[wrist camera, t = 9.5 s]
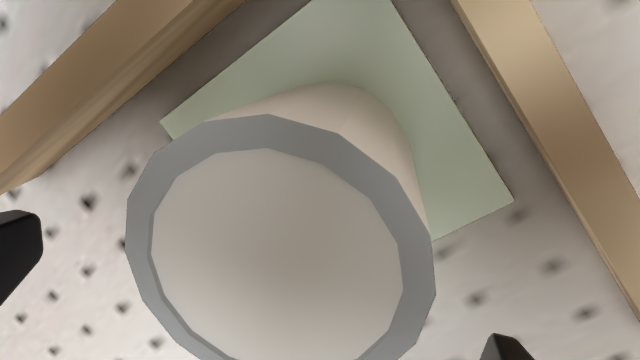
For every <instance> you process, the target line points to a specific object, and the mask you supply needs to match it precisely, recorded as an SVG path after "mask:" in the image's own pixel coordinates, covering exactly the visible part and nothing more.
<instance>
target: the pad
mask: <svg viewBox="0 0 640 360" xmlns="http://www.w3.org/2000/svg"><path fill="white" fill-rule="evenodd" d="M327 81H335V82H338V83H342V84H346V85H349V86H353V87H357V88H361V89H364V90H366V91H367V92H368V93H370V94H371V95H372V96H374V97H375V98H376V99H378V100H379V101H380V102H381V103H383V104H384V105H385V106H387V107H388V108H389V109H391V110H392V112H393V114H394V115H395V117H396V119H397V121H398V122H399V124H400V126H401V128H402V129H403V131H404V133H405V135H406V136H407V138H408V141H409V146H410V150H411V154H412V159H413V163H414V167H415V171H416V176H417V180H418V184H419V189H420V193H421V197H422V201H423V206H424V210H425V214H426V218H427V223H428V227H429V231H430V236H431V242H433V241H435V240H437V239H439V238H441V237H443V236H445V235H447V234H449V233H451V232H453V231H455V230H457V229H459V228H461V227H464V226H466V225H468V224H470V223H472V222H474V221H476V220H478V219H480V218H482V217H484V216H486V215H488V214H490V213H492V212H494V211H496V210H499V209H501V208H503V207H505V206H507V205H509V204H511V203H513V202H515V200H514V198H513V196H512V194H511V193H510V191H509V190H508V188H507V186H506V185H505V183H504V182H503V180H502V178H501V177H500V175H499V173H498V172H497V170H496V169H495V167H494V165H493V164H492V162H491V161H490V159H489V157H488V156H487V154H486V153H485V151H484V149H483V148H482V146H481V145H480V143H479V141H478V140H477V138H476V136H475V135H474V133H473V132H472V130H471V128H470V127H469V125H468V124H467V122H466V120H465V119H464V117H463V116H462V114H461V112H460V111H459V109H458V108H457V106H456V104H455V103H454V101H453V99H452V98H451V96H450V95H449V93H448V91H447V90H446V88H445V87H444V85H443V83H442V82H441V80H440V79H439V77H438V75H437V74H436V72H435V70H434V69H433V67H432V66H431V64H430V62H429V61H428V59H427V58H426V56H425V54H424V53H423V51H422V50H421V48H420V46H419V45H418V43H417V42H416V40H415V38H414V37H413V35H412V33H411V32H410V30H409V29H408V27H407V25H406V24H405V22H404V21H403V19H402V17H401V16H400V14H399V13H398V11H397V9H396V8H395V6H394V5H393V3H392V1H391V0H312V1H311V2H309V3H308V4H307V5H305V6H304V7H303V8H302V9H300V10H299V11H298V12H297V13H295V14H294V15H293V16H292V17H290V18H289V19H288V20H287V21H285V22H284V23H283V24H281V25H280V26H279V27H278V28H276V29H275V30H274V31H273V32H271V33H270V34H269V35H268V36H266V37H265V38H264V39H263V40H261V41H260V42H259V43H257V44H256V45H255V46H254V47H252V48H251V49H250V50H249V51H247V52H246V53H245V54H244V55H242V56H241V57H240V58H239V59H237V60H236V61H235V62H233V63H232V64H231V65H230V66H228V67H227V68H226V69H225V70H223V71H222V72H221V73H220V74H218V75H217V76H216V77H214V78H213V79H212V80H211V81H209V82H208V83H207V84H206V85H204V86H203V87H202V88H201V89H199V90H198V91H197V92H196V93H194V94H193V95H192V96H190V97H189V98H188V99H187V100H185V101H184V102H183V103H182V104H180V105H179V106H178V107H177V108H175V109H174V110H173V111H172V112H170V113H169V114H168V115H166V116H165V117H164V118H163V119H161V120H160V121H159V123H160V124H161V125H162V126H163V128H164V129H165V130H166V131H167V133H168V134H169V135H170V137H171V138H172V139H173V140H175V139H177V138H178V137H180V136H181V135H183V134H184V133H186V132H188V131H189V130H191V129H192V128H194V127H195V126H197V125H199V124H200V123H202V122H204V121H206V120H209V119H212V118H214V117H217V116H219V115H222V114H225V113H227V112H230V111H233V110H235V109H238V108H241V107H243V106H246V105H249V104H251V103H254V102H257V101H259V100H262V99H265V98H267V97H270V96H273V95H275V94H278V93H280V92H283V91H286V90H288V89H291V88H294V87H296V86H299V85H305V84H312V83H320V82H327Z"/></svg>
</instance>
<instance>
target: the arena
mask: <svg viewBox="0 0 640 360" xmlns="http://www.w3.org/2000/svg"><path fill="white" fill-rule="evenodd" d="M245 1H246V0H116V1H115V2H114V3H113V4H112V5H111V6H110V7H109V8H108V9H107V10H106V11H105V12H104V13H103V14H102V15H101V16H100V17H99V18H98V19H97V20H96V21H95V22H94V23H93V24H92V25H91V26H90V27H89V28H88V29H87V30H86V31H85V32H84V33H83V34H82V35H81V36H80V37H79V38H78V39H77V40H76V41H75V42H74V43H73V44H72V45H71V46H70V47H69V48H68V49H67V50H66V51H65V52H64V53H63V54H62V55H61V56H60V57H59V58H58V59H57V60H56V61H55V62H54V63H53V64H52V65H51V66H50V67H49V68H48V69H47V70H46V71H45V72H44V73H43V74H42V75H41V76H40V77H39V78H38V79H37V80H36V81H34V82H33V83H32V84H31V85H30V86H29V87H28V88H27V89H26V90H25V91H24V92H23V93H22V94H21V95H20V96H19V97H18V98H17V99H16V100H15V101H14V102H13V103H12V104H11V105H10V106H9V107H8V108H7V109H6V110H5V111H4V112H3V113H2V114H1V115H0V195H1V194H3V193H5V192H7V191H9V190H12V189H14V188H16V187H18V186H20V185H22V184H24V183H26V182H28V181H30V180H32V179H34V178H36V177H38V176H39V175H41V174H42V173H43V172H44V171H45V170H47V169H48V168H49V167H50V166H51V165H52V164H54V163H55V162H56V161H57V160H58V159H59V158H61V157H62V156H63V155H64V154H65V153H67V152H68V151H69V150H70V149H71V148H72V147H74V146H75V145H76V144H77V143H78V142H80V141H81V140H82V139H83V138H84V137H85V136H87V135H88V134H89V133H90V132H91V131H92V130H94V129H95V128H96V127H97V126H98V125H100V124H101V123H102V122H103V121H104V120H105V119H107V118H108V117H109V116H110V115H111V114H113V113H114V112H115V111H116V110H117V109H118V108H120V107H121V106H122V105H123V104H124V103H125V102H127V101H128V100H129V99H130V98H131V97H133V96H134V95H135V94H136V93H137V92H138V91H140V90H141V89H142V88H143V87H144V86H146V85H147V84H148V83H149V82H150V81H151V80H153V79H154V78H155V77H156V76H157V75H158V74H160V73H161V72H162V71H163V70H164V69H166V68H167V67H168V66H169V65H170V64H171V63H173V62H174V61H175V60H176V59H177V58H179V57H180V56H181V55H182V54H183V53H184V52H186V51H187V50H188V49H189V48H190V47H191V46H193V45H194V44H195V43H196V42H197V41H199V40H200V39H201V38H202V37H203V36H204V35H206V34H207V33H208V32H209V31H210V30H212V29H213V28H214V27H215V26H216V25H217V24H219V23H220V22H221V21H222V20H223V19H224V18H226V17H227V16H228V15H229V14H230V13H232V12H233V11H234V10H235V9H236V8H237V7H239V6H240V5H241V4H242V3H243V2H245ZM450 2H451V4H452V5H453V7H454V9H455V10H456V12H457V14H458V16H459V17H460V19H461V21H462V22H463V24H464V26H465V27H466V29H467V31H468V32H469V34H470V36H471V38H472V39H473V41H474V43H475V44H476V46H477V48H478V49H479V51H480V53H481V54H482V56H483V58H484V59H485V61H486V63H487V65H488V66H489V68H490V70H491V71H492V73H493V75H494V76H495V78H496V80H497V81H498V83H499V85H500V86H501V88H502V90H503V92H504V93H505V95H506V97H507V98H508V100H509V102H510V103H511V105H512V107H513V108H514V110H515V112H516V114H517V115H518V117H519V119H520V120H521V122H522V124H523V125H524V127H525V129H526V130H527V132H528V134H529V135H530V137H531V139H532V141H533V142H534V144H535V146H536V147H537V149H538V151H539V152H540V154H541V156H542V157H543V159H544V161H545V163H546V164H547V166H548V168H549V169H550V171H551V173H552V174H553V176H554V178H555V179H556V181H557V183H558V184H559V186H560V188H561V190H562V191H563V193H564V195H565V196H566V198H567V200H568V201H569V203H570V205H571V206H572V208H573V210H574V211H575V213H576V215H577V217H578V218H579V220H580V222H581V223H582V225H583V227H584V228H585V230H586V232H587V233H588V235H589V237H590V239H591V240H592V242H593V244H594V245H595V247H596V249H597V250H598V252H599V254H600V255H601V257H602V259H603V260H604V262H605V264H606V266H607V267H608V269H609V271H610V272H611V274H612V276H613V277H614V279H615V281H616V282H617V284H618V286H619V288H620V289H621V291H622V293H623V294H624V296H625V298H626V299H627V301H628V303H629V304H630V306H631V308H632V309H633V311H634V313H635V315H636V316H637V318H638V320H639V321H640V199H639V198H638V196H637V194H636V192H635V190H634V188H633V187H632V185H631V183H630V181H629V179H628V178H627V176H626V174H625V172H624V170H623V169H622V167H621V165H620V163H619V161H618V159H617V158H616V156H615V154H614V152H613V150H612V149H611V147H610V145H609V143H608V141H607V140H606V138H605V136H604V134H603V132H602V130H601V129H600V127H599V125H598V123H597V121H596V120H595V118H594V116H593V114H592V112H591V111H590V109H589V107H588V105H587V103H586V101H585V100H584V98H583V96H582V94H581V92H580V91H579V89H578V87H577V85H576V83H575V82H574V80H573V78H572V76H571V74H570V72H569V71H568V69H567V67H566V65H565V63H564V62H563V60H562V58H561V56H560V54H559V53H558V51H557V49H556V47H555V45H554V43H553V42H552V40H551V38H550V36H549V34H548V33H547V31H546V29H545V27H544V25H543V24H542V22H541V20H540V18H539V16H538V14H537V13H536V11H535V9H534V7H533V5H532V4H531V2H530V0H450Z"/></svg>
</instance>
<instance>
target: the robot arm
mask: <svg viewBox="0 0 640 360" xmlns="http://www.w3.org/2000/svg"><path fill="white" fill-rule="evenodd" d="M42 254H43V240H42V230H41V221H40V219H39V217H38V216H37V215H36V214H33V213H30V212H26V211H22V210H12V211H6V212H1V213H0V306H1V305H2V304H3V303H4V301H5V300H6V299H7V298H8V297H9V295H10V294H11V293H12V292H13V291H14V290H15V288H16V287H17V286H18V285H19V284H20V283H21V281H22V280H23V279H24V278H25V277H26V276H27V274H28V273H29V272H30V271H31V270H32V269H33V267H34V266H35V265H36V264H37V263H38V262H39V260H40V258H41V257H42ZM480 360H534V358H533V357H532V356H531V355H530V354H529V353H528V352H527V350H526V349H525V348H524V347H523V346H522V345H521V344H520V342H519V341H518V340H516V339H515V338H513V337H509V336H505V335H501V334H497V333H493V334H491V335H490V337H489V338H488V340H487V343H486V345H485V348H484V350H483V353H482V355H481V358H480Z"/></svg>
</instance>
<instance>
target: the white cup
mask: <svg viewBox="0 0 640 360" xmlns="http://www.w3.org/2000/svg"><path fill="white" fill-rule="evenodd" d="M125 253H126V256H127V259H128V261H129V264H130V267H131V270H132V273H133V275H134V278H135V281H136V284H137V287H138V289H139V292H140V295H141V298H142V300H143V302H144V303H145V304H146V305H147V307H148V308H149V309H150V310H151V312H152V313H153V314H154V316H155V317H156V318H157V319H158V321H159V322H160V323H161V324H162V326H163V327H164V328H165V329H166V331H167V332H168V333H169V334H170V336H171V337H172V338H173V339H174V341H175V342H176V343H177V344H179V345H180V346H182V347H183V348H185V349H186V350H187V351H189V352H190V353H192V354H193V355H195V356H196V357H198V358H199V359H200V360H398V359H399V358H400V357H401V356H402V355H403V354H405V353H406V352H407V351H408V350H409V349H410V348H412V347H413V346H414V345H415V344H416V342H417V339H418V337H419V335H420V332H421V330H422V327H423V325H424V322H425V320H426V318H427V315H428V313H429V310H430V308H431V305H432V303H433V300H434V298H435V296H436V290H435V279H434V268H433V257H432V247H431V236H430V231H429V227H428V223H427V218H426V214H425V210H424V206H423V201H422V197H421V193H420V189H419V184H418V180H417V176H416V171H415V167H414V163H413V159H412V154H411V150H410V146H409V141H408V138H407V136H406V135H405V133H404V131H403V129H402V128H401V126H400V124H399V122H398V121H397V119H396V117H395V115H394V114H393V112H392V110H391V109H389V108H388V107H387V106H385V105H384V104H383V103H381V102H380V101H379V100H378V99H376V98H375V97H374V96H372V95H371V94H370V93H368V92H367V91H366V90H364V89H361V88H357V87H353V86H349V85H346V84H342V83H338V82H335V81H327V82H320V83H312V84H305V85H299V86H296V87H294V88H291V89H288V90H286V91H283V92H280V93H278V94H275V95H273V96H270V97H267V98H265V99H262V100H259V101H257V102H254V103H251V104H249V105H246V106H243V107H241V108H238V109H235V110H233V111H230V112H227V113H225V114H222V115H219V116H217V117H214V118H212V119H209V120H206V121H204V122H202V123H200V124H199V125H197V126H195V127H194V128H192V129H191V130H189V131H188V132H186V133H184V134H183V135H181V136H180V137H178V138H177V139H175V140H174V141H172V142H170V143H169V144H167V145H166V146H164V147H163V148H161V149H159V150H158V151H156V152H155V153H153V155H152V157H151V159H150V160H149V162H148V164H147V166H146V168H145V169H144V171H143V173H142V175H141V176H140V178H139V180H138V182H137V183H136V185H135V187H134V189H133V190H132V192H131V194H130V196H129V198H128V199H127V218H126V237H125Z"/></svg>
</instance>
